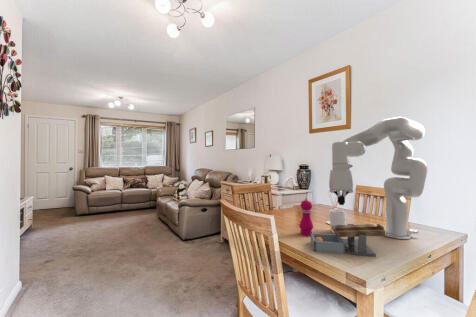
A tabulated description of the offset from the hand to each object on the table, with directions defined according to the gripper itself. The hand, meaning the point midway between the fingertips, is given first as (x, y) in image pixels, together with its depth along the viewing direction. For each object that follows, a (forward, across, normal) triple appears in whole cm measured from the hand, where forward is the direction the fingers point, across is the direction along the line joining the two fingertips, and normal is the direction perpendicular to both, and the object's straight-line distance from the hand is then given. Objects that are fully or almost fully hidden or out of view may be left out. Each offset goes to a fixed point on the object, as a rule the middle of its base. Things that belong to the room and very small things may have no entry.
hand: (341, 204), depth 111 cm
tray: (+11, -5, +4) cm, 13 cm away
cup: (+20, -2, -18) cm, 27 cm away
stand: (+19, -5, +4) cm, 20 cm away
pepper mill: (+19, +16, -10) cm, 27 cm away
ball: (+16, +12, +8) cm, 21 cm away
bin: (+19, +8, +8) cm, 22 cm away
